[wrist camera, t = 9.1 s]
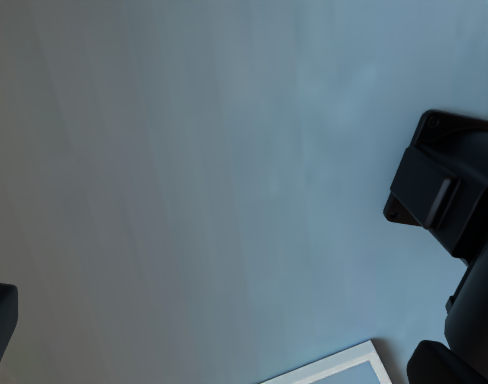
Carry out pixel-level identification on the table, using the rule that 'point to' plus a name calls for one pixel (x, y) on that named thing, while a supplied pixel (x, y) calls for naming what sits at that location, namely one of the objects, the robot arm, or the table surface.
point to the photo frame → (335, 366)
